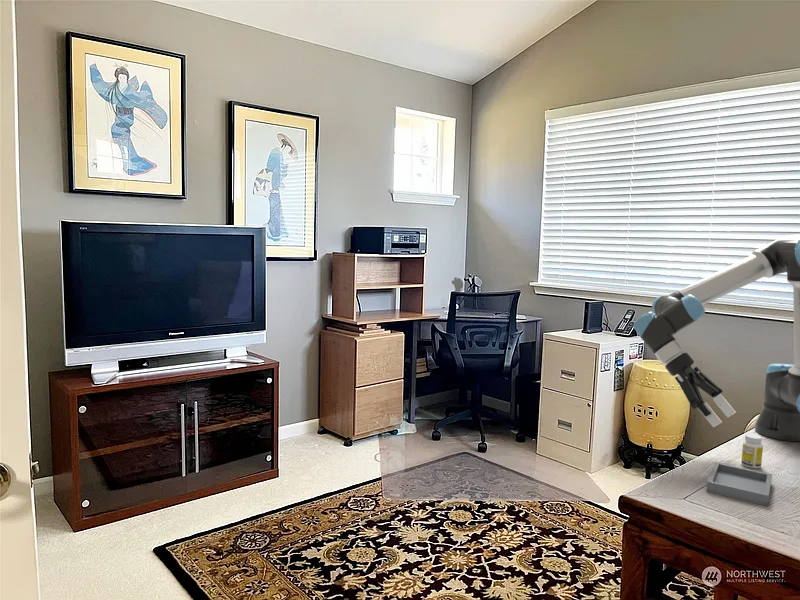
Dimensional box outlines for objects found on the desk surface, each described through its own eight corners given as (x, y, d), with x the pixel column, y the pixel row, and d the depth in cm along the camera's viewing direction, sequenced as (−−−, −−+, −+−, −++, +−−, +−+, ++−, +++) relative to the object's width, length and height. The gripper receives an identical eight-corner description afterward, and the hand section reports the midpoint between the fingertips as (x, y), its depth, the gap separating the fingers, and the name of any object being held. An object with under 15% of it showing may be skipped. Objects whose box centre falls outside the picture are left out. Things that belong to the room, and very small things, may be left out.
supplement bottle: (758, 463, 167) (761, 434, 166) (763, 469, 162) (766, 439, 161) (738, 461, 168) (741, 432, 167) (743, 467, 164) (746, 437, 163)
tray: (714, 470, 160) (715, 462, 160) (770, 483, 153) (772, 474, 153) (706, 491, 147) (707, 481, 147) (767, 506, 140) (768, 495, 140)
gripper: (679, 360, 188) (726, 417, 179) (648, 372, 170) (700, 436, 161) (698, 346, 184) (748, 404, 175) (669, 357, 166) (723, 422, 157)
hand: (725, 420), depth 168 cm, fingers open, 13 cm apart
